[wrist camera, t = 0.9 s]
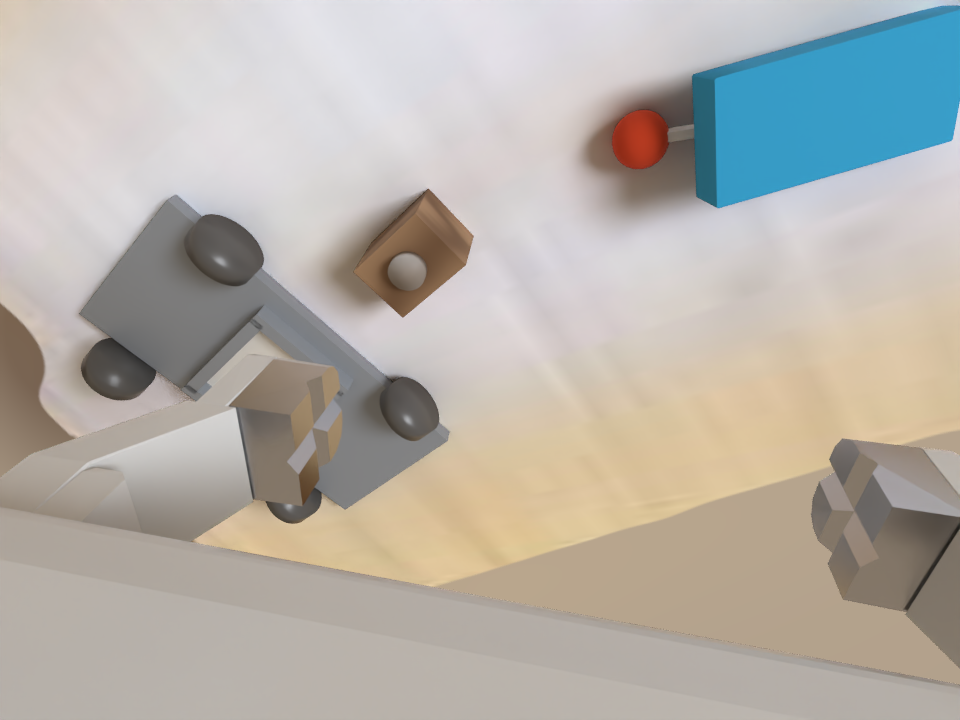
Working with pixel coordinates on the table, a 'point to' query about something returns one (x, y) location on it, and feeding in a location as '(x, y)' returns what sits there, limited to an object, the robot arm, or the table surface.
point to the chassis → (245, 346)
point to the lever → (812, 108)
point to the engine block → (415, 254)
